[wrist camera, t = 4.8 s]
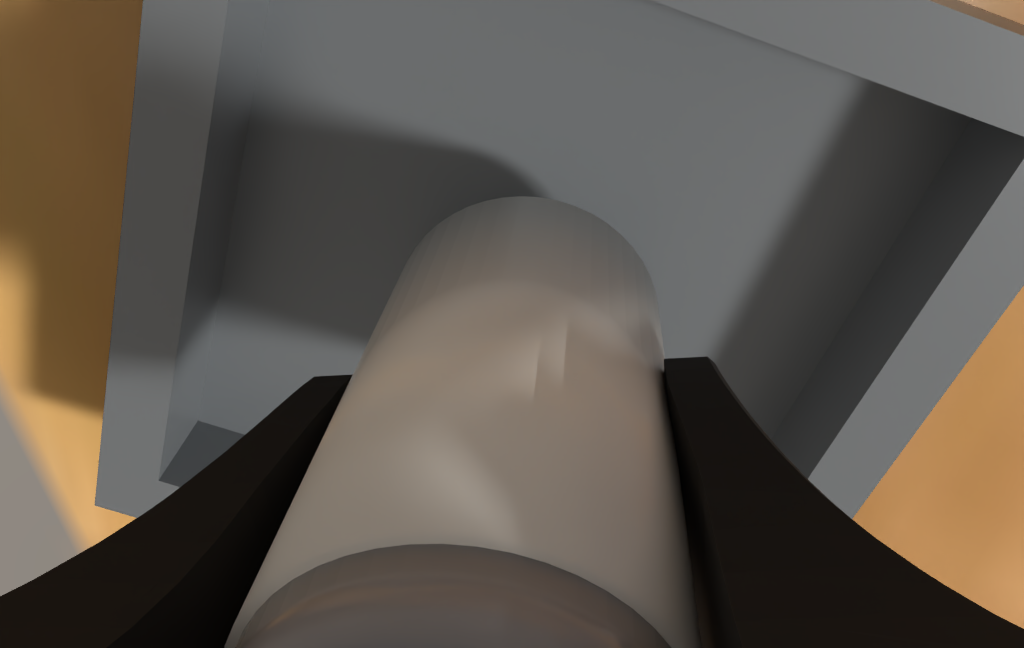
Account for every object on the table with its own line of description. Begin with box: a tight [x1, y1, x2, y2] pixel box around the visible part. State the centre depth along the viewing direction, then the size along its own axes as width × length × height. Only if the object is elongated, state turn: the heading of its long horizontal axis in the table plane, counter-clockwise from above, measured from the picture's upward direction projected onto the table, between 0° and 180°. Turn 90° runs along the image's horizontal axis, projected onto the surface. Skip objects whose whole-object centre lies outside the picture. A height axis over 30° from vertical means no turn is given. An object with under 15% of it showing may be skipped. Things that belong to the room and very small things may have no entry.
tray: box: [95, 0, 1024, 519], centre depth 16 cm, size 14×14×3 cm
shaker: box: [224, 196, 702, 648], centre depth 11 cm, size 5×5×9 cm
